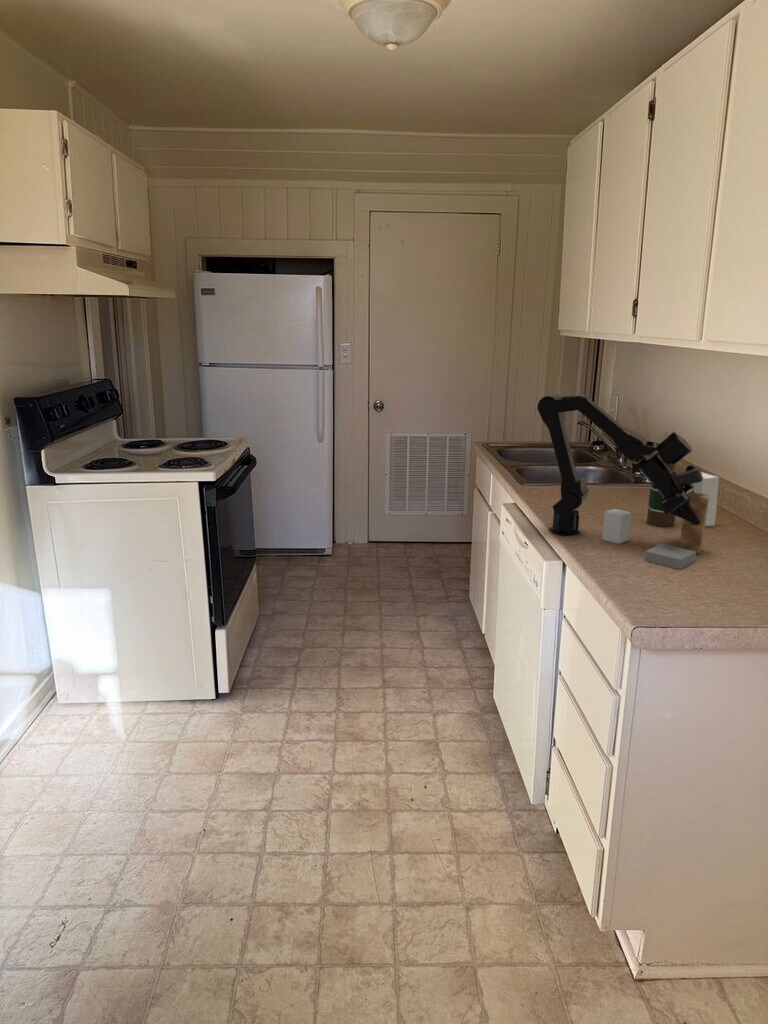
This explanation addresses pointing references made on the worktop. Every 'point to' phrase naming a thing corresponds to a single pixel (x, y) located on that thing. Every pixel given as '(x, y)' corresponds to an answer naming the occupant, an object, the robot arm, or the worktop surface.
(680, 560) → the greyblue square slab
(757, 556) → the worktop surface
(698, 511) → the walnut post
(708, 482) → the skincare box
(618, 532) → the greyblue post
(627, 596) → the worktop surface
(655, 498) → the beer bottle
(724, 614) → the worktop surface
